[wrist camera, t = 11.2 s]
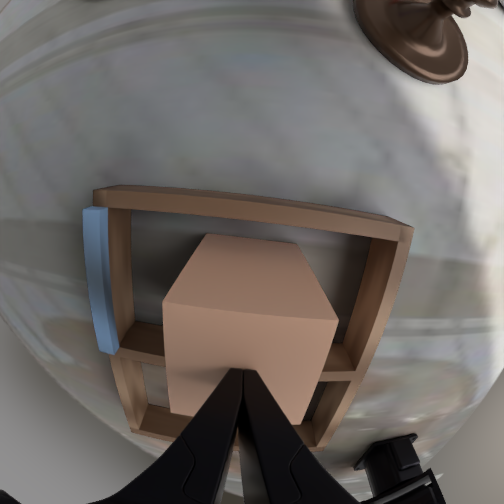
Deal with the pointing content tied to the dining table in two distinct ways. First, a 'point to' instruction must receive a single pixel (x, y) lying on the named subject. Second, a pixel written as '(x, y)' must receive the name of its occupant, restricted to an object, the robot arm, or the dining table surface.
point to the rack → (152, 336)
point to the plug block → (246, 322)
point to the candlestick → (419, 35)
